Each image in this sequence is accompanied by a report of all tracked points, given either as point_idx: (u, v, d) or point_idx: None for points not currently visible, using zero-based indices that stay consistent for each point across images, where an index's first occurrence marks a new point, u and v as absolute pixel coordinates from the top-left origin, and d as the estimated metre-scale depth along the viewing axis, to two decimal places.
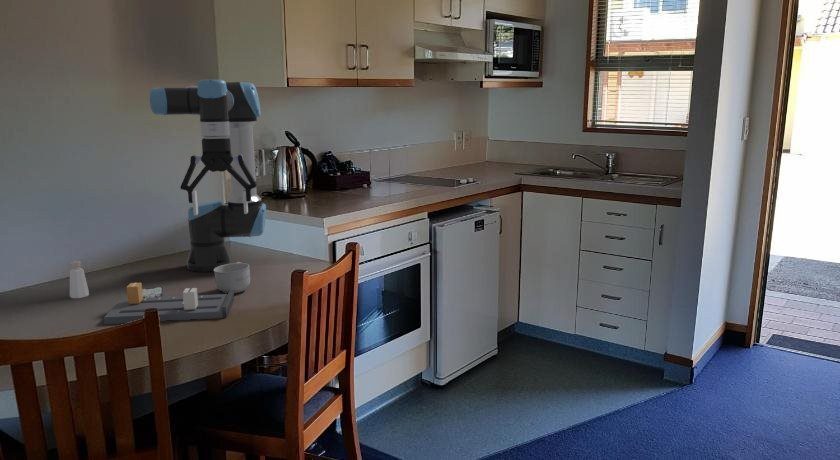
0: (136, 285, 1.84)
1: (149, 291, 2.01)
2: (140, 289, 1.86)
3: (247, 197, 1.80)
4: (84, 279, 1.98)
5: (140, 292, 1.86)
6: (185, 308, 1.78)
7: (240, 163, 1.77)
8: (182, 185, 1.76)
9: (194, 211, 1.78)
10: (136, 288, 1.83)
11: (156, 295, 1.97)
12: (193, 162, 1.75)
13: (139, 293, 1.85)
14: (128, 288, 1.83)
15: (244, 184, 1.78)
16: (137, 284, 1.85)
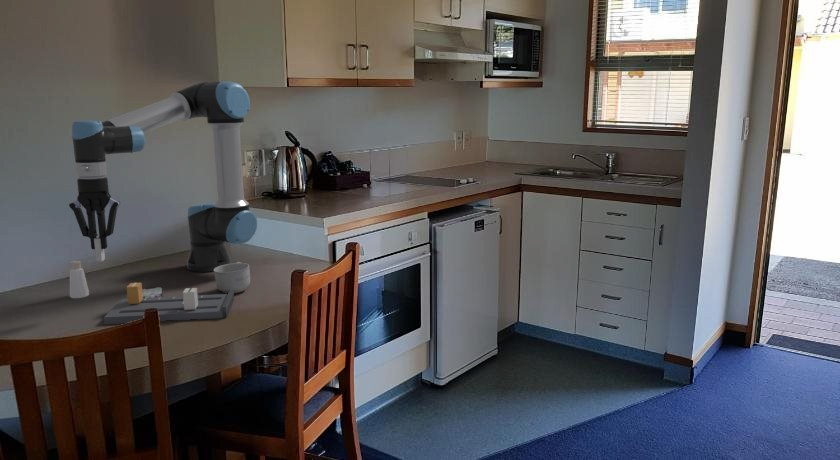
0: (136, 285, 1.84)
1: (150, 291, 2.01)
2: (140, 289, 1.86)
3: (102, 245, 1.81)
4: (84, 279, 1.98)
5: (140, 292, 1.86)
6: (185, 308, 1.78)
7: (111, 209, 1.79)
8: (83, 232, 1.79)
9: (97, 257, 1.80)
10: (136, 288, 1.83)
11: (156, 295, 1.97)
12: (74, 208, 1.77)
13: (139, 293, 1.85)
14: (128, 288, 1.83)
15: (101, 231, 1.79)
16: (137, 284, 1.85)
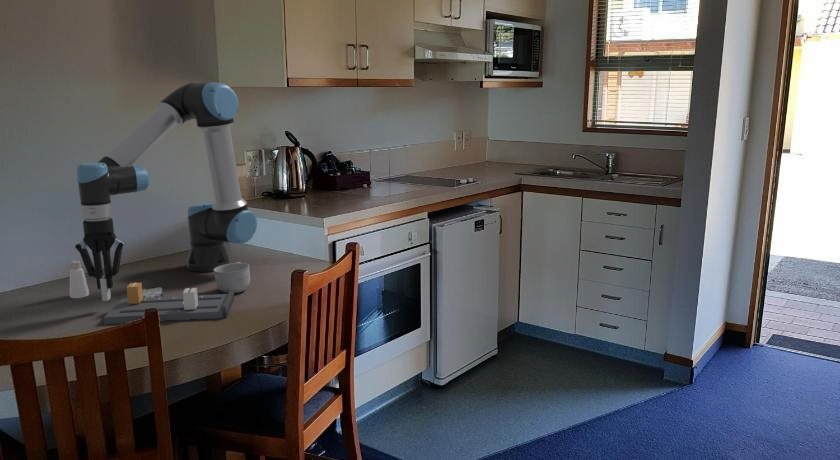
0: (136, 285, 1.84)
1: (150, 291, 2.01)
2: (140, 289, 1.86)
3: (108, 284, 1.83)
4: (84, 279, 1.98)
5: (140, 292, 1.86)
6: (185, 308, 1.78)
7: (117, 249, 1.81)
8: (89, 273, 1.81)
9: (103, 297, 1.83)
10: (136, 288, 1.83)
11: (156, 295, 1.97)
12: (80, 249, 1.80)
13: (139, 293, 1.85)
14: (128, 288, 1.83)
15: (107, 271, 1.82)
16: (137, 284, 1.85)
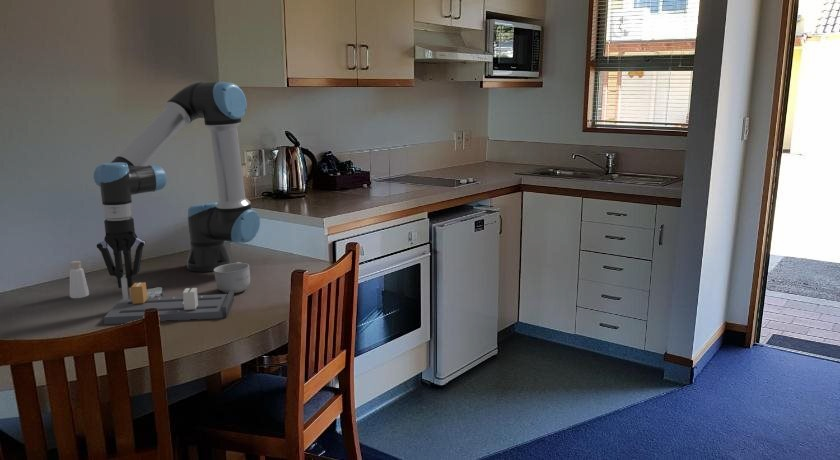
0: (140, 285, 1.84)
1: (150, 290, 2.01)
2: (144, 289, 1.86)
3: (128, 284, 1.84)
4: (84, 279, 1.98)
5: (144, 292, 1.86)
6: (185, 308, 1.78)
7: (137, 249, 1.82)
8: (110, 272, 1.82)
9: (123, 296, 1.84)
10: (141, 288, 1.83)
11: (156, 295, 1.97)
12: (102, 248, 1.80)
13: (143, 293, 1.85)
14: (132, 288, 1.83)
15: (128, 271, 1.83)
16: (141, 284, 1.85)
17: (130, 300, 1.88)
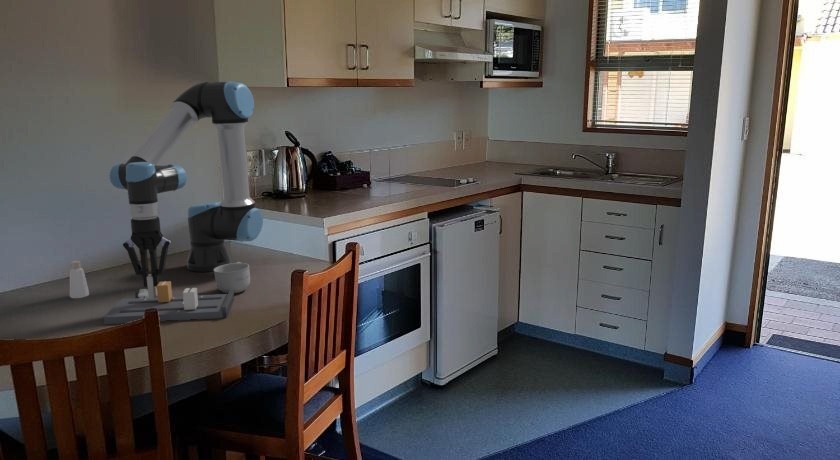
0: (166, 284, 1.85)
1: None
2: (170, 288, 1.87)
3: (154, 282, 1.85)
4: (84, 279, 1.98)
5: (170, 291, 1.87)
6: (185, 308, 1.78)
7: (163, 248, 1.83)
8: (136, 271, 1.83)
9: (149, 295, 1.85)
10: (167, 287, 1.84)
11: (156, 295, 1.97)
12: (128, 247, 1.81)
13: (169, 292, 1.86)
14: (158, 287, 1.84)
15: (153, 269, 1.84)
16: (167, 283, 1.86)
17: (130, 300, 1.88)
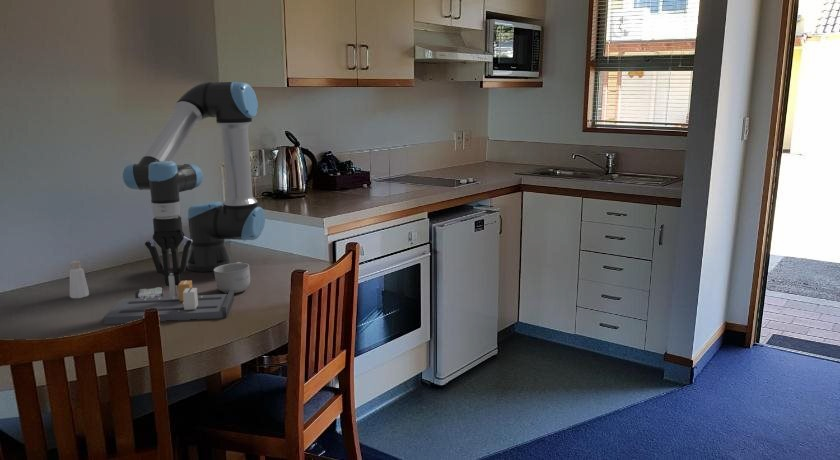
0: (187, 283, 1.86)
1: (150, 290, 2.01)
2: (191, 287, 1.88)
3: (176, 281, 1.86)
4: (84, 279, 1.98)
5: None
6: (185, 308, 1.78)
7: (185, 247, 1.84)
8: (158, 270, 1.84)
9: (171, 293, 1.86)
10: (188, 286, 1.85)
11: (156, 295, 1.97)
12: (150, 246, 1.82)
13: None
14: (180, 286, 1.85)
15: (175, 268, 1.85)
16: (188, 282, 1.87)
17: (130, 300, 1.88)
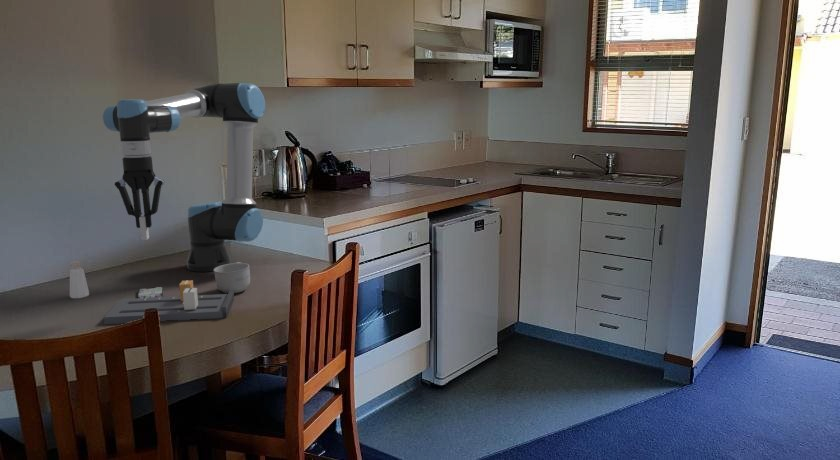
0: (188, 283, 1.86)
1: (150, 290, 2.01)
2: (192, 287, 1.88)
3: (147, 223, 1.82)
4: (84, 279, 1.98)
5: None
6: (185, 308, 1.78)
7: (156, 187, 1.80)
8: (128, 211, 1.80)
9: (142, 236, 1.82)
10: (189, 286, 1.85)
11: (156, 295, 1.98)
12: (120, 187, 1.78)
13: None
14: (181, 286, 1.85)
15: (146, 210, 1.81)
16: (189, 282, 1.87)
17: (130, 300, 1.88)
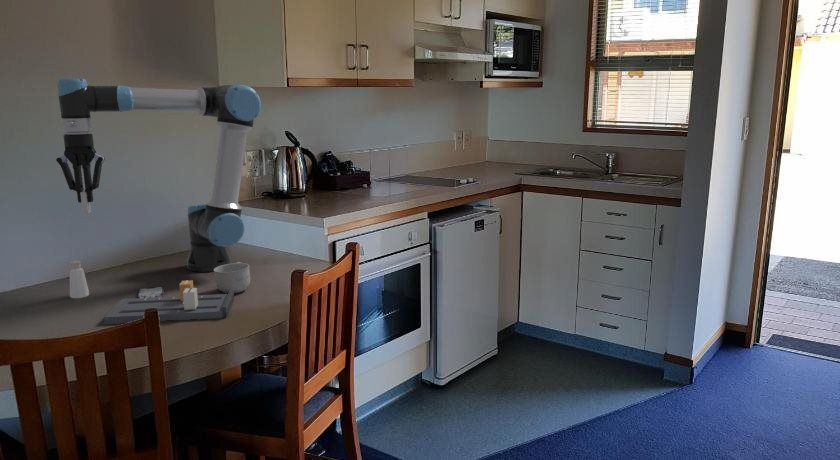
0: (188, 283, 1.86)
1: (150, 290, 2.02)
2: (192, 287, 1.88)
3: (88, 198, 1.90)
4: (84, 279, 1.98)
5: None
6: (185, 308, 1.78)
7: (96, 163, 1.88)
8: (69, 186, 1.88)
9: (83, 210, 1.90)
10: (189, 286, 1.85)
11: (156, 295, 1.98)
12: (61, 162, 1.86)
13: None
14: (181, 286, 1.85)
15: (87, 185, 1.89)
16: (189, 282, 1.87)
17: (130, 300, 1.88)
